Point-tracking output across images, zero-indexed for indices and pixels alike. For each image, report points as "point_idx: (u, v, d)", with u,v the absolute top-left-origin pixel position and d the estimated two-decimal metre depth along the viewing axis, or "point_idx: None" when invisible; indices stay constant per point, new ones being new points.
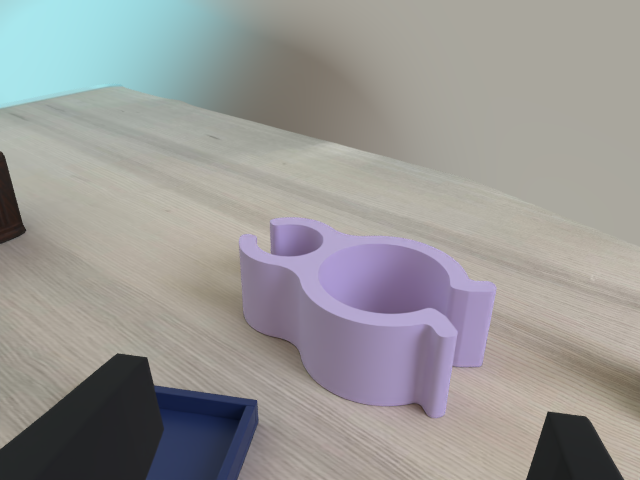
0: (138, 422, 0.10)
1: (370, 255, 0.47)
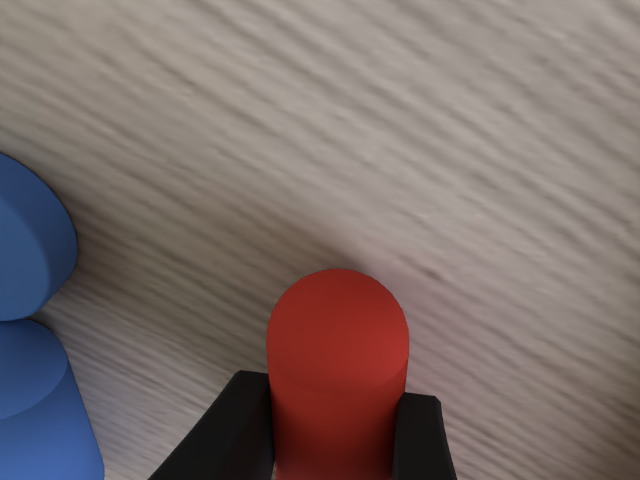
0: (264, 441, 0.10)
1: None
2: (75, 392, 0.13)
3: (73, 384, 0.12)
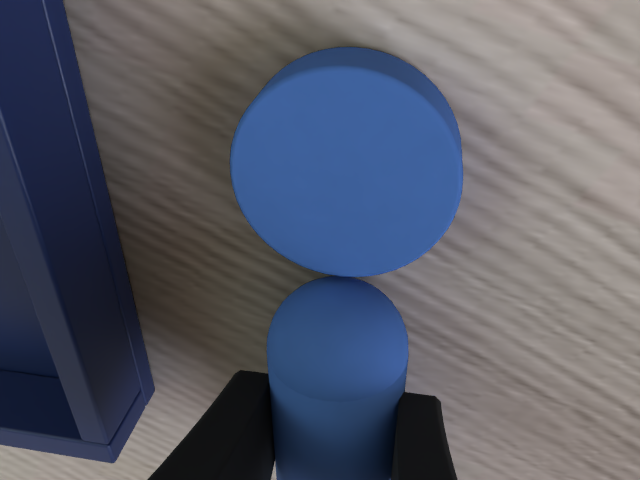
0: (264, 441, 0.10)
1: None
2: None
3: None
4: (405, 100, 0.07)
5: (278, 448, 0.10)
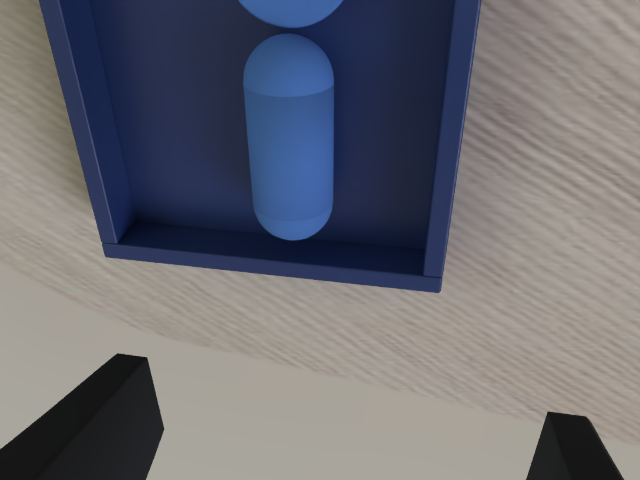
0: (138, 422, 0.10)
1: None
2: None
3: None
4: None
5: (252, 158, 0.16)
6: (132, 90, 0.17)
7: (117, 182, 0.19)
